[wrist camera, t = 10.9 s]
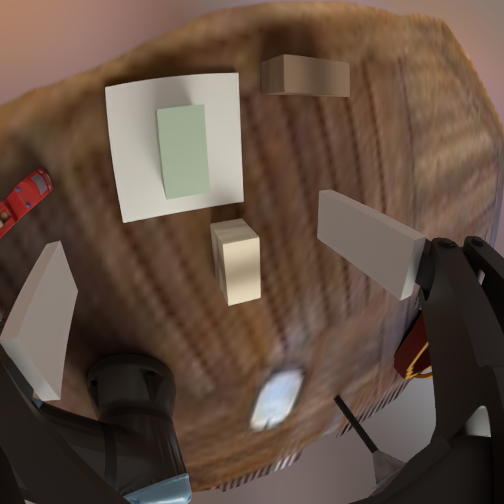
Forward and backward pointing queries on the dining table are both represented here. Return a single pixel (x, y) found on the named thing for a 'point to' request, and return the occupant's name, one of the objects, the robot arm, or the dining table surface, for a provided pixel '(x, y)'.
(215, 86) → the grey plate
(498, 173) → the dining table surface
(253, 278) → the birch brick
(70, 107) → the dining table surface
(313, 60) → the walnut brick
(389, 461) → the solar garden light
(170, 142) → the sage brick
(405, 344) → the decorative basket
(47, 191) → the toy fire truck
